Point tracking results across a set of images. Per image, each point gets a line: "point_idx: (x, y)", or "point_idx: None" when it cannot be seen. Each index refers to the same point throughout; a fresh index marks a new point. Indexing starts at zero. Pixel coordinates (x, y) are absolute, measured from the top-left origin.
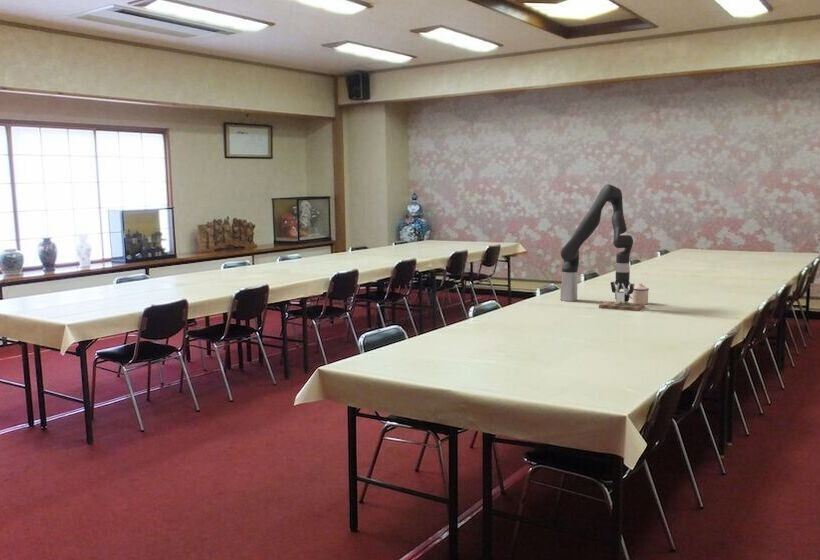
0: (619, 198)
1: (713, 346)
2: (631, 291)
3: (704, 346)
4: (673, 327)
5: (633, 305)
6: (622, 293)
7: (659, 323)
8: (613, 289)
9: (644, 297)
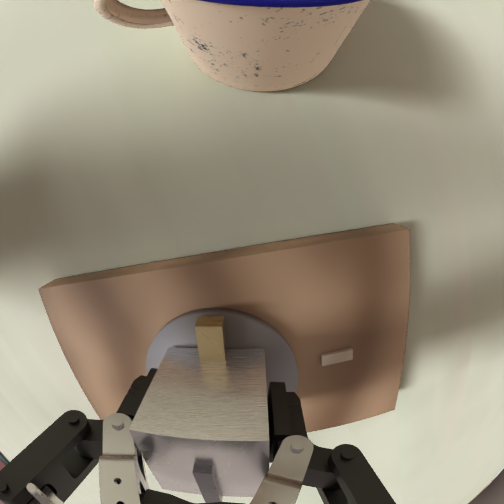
0: None
1: (486, 486)
2: (350, 475)
3: (476, 493)
4: (471, 471)
5: (341, 370)
6: (243, 492)
7: (451, 474)
8: (87, 473)
9: (346, 35)
